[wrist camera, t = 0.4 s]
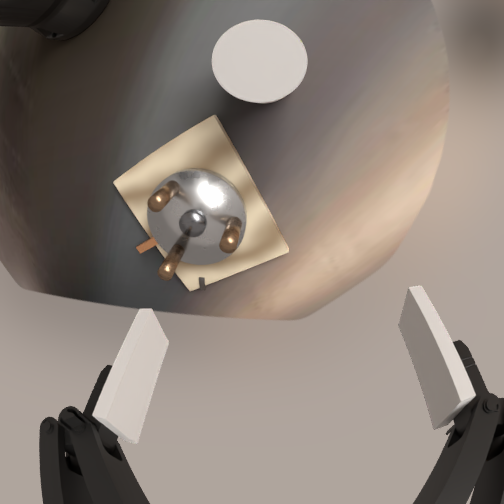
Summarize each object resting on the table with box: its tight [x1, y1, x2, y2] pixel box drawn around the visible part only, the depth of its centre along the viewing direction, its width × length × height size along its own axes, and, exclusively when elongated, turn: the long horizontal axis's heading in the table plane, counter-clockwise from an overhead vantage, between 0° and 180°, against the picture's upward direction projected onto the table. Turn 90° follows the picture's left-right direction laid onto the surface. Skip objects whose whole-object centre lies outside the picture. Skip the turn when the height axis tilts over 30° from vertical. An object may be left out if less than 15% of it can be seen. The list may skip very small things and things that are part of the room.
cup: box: [212, 20, 307, 103], centre depth 24 cm, size 8×8×12 cm
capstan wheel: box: [136, 168, 247, 281], centre depth 35 cm, size 14×18×8 cm
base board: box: [113, 115, 289, 291], centre depth 39 cm, size 23×18×2 cm
